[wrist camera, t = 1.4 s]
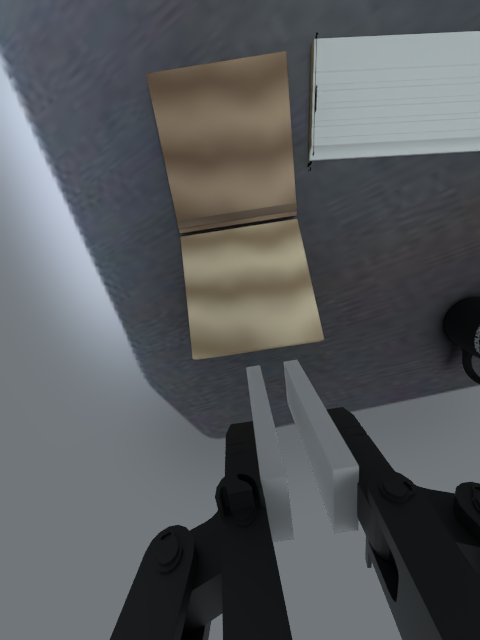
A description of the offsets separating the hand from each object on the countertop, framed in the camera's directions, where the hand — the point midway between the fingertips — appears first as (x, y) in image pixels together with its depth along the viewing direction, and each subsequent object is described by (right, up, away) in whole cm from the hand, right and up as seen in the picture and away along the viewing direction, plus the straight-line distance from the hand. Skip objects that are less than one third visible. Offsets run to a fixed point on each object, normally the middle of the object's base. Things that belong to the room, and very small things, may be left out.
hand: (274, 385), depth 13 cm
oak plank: (-1, +7, +15) cm, 17 cm away
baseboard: (+21, +28, +14) cm, 38 cm away
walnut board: (-3, +23, +14) cm, 27 cm away
